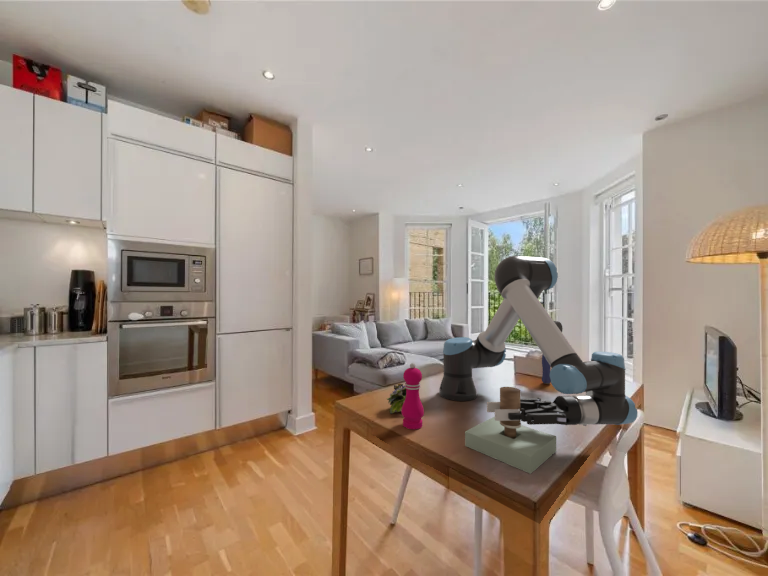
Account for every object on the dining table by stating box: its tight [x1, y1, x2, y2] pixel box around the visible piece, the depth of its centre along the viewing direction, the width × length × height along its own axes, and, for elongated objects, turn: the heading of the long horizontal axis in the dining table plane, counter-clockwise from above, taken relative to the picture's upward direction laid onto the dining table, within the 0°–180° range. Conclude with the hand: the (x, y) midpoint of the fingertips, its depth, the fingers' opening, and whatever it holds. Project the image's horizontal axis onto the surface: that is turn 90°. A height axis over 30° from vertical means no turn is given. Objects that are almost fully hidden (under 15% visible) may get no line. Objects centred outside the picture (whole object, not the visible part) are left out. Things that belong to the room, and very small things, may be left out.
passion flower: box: [386, 383, 406, 415], centre depth 114 cm, size 11×11×12 cm
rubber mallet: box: [541, 320, 564, 385], centre depth 148 cm, size 12×8×30 cm, turn 33°
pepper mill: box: [400, 362, 425, 430], centre depth 101 cm, size 7×7×20 cm
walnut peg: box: [499, 386, 522, 439], centre depth 86 cm, size 5×5×13 cm
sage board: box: [464, 416, 557, 475], centre depth 86 cm, size 18×16×4 cm
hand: (491, 410), depth 86 cm, fingers closed on walnut peg, 5 cm apart
